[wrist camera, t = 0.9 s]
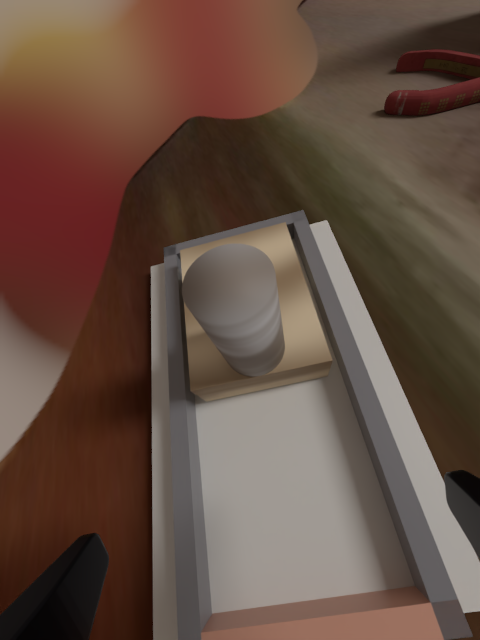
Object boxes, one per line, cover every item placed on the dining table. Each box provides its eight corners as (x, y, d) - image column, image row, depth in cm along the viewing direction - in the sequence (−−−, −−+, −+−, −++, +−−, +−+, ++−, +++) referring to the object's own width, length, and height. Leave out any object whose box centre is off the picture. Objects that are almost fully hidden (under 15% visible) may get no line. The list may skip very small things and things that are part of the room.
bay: (488, 599, 14) (529, 629, 12) (161, 641, 16) (134, 676, 13) (325, 227, 28) (328, 203, 25) (155, 272, 29) (141, 253, 27)
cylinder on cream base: (327, 376, 20) (353, 293, 10) (206, 401, 21) (124, 348, 11) (287, 250, 26) (279, 123, 16) (194, 274, 26) (133, 167, 17)
